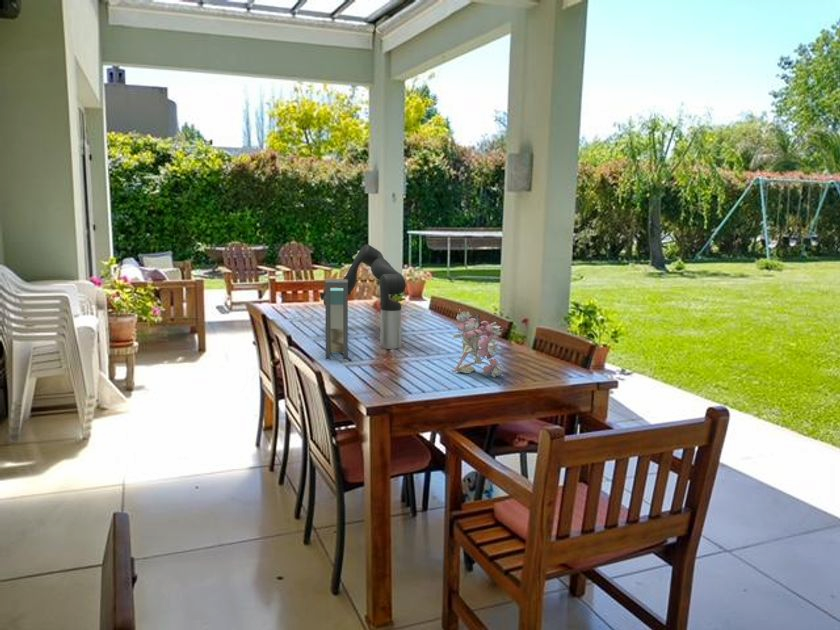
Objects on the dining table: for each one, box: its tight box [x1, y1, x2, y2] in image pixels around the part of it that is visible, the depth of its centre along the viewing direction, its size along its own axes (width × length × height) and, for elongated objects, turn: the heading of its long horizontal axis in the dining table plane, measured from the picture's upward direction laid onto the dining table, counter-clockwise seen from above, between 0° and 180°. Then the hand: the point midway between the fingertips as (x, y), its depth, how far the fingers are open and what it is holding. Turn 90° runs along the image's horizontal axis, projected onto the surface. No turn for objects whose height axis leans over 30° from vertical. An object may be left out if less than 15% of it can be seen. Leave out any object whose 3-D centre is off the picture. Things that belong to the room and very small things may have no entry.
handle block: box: [330, 287, 343, 305], centre depth 288 cm, size 7×21×6 cm, turn 7°
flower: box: [450, 308, 504, 378], centre depth 246 cm, size 20×22×25 cm
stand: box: [324, 278, 349, 360], centre depth 272 cm, size 9×12×32 cm
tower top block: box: [330, 305, 343, 329], centre depth 285 cm, size 8×12×10 cm, turn 7°
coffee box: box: [462, 313, 481, 354], centre depth 288 cm, size 9×6×16 cm
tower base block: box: [331, 329, 343, 353], centre depth 287 cm, size 8×12×10 cm, turn 7°
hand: (335, 291), depth 302 cm, fingers open, 8 cm apart
